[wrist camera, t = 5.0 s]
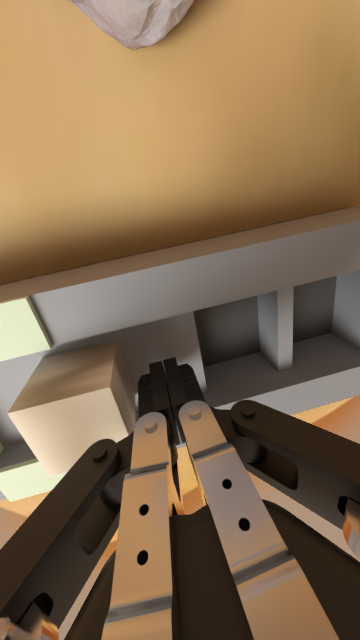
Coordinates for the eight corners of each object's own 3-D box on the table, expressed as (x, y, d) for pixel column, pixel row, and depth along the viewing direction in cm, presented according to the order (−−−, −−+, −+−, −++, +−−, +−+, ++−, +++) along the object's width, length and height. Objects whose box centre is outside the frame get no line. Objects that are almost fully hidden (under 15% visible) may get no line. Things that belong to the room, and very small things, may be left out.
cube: (116, 339, 13) (109, 387, 10) (135, 395, 15) (135, 452, 11) (42, 357, 13) (6, 413, 9) (70, 412, 15) (49, 476, 11)
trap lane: (352, 206, 16) (434, 204, 12) (336, 353, 21) (390, 389, 16) (-68, 300, 14) (-160, 340, 9) (25, 438, 19) (-8, 507, 14)
